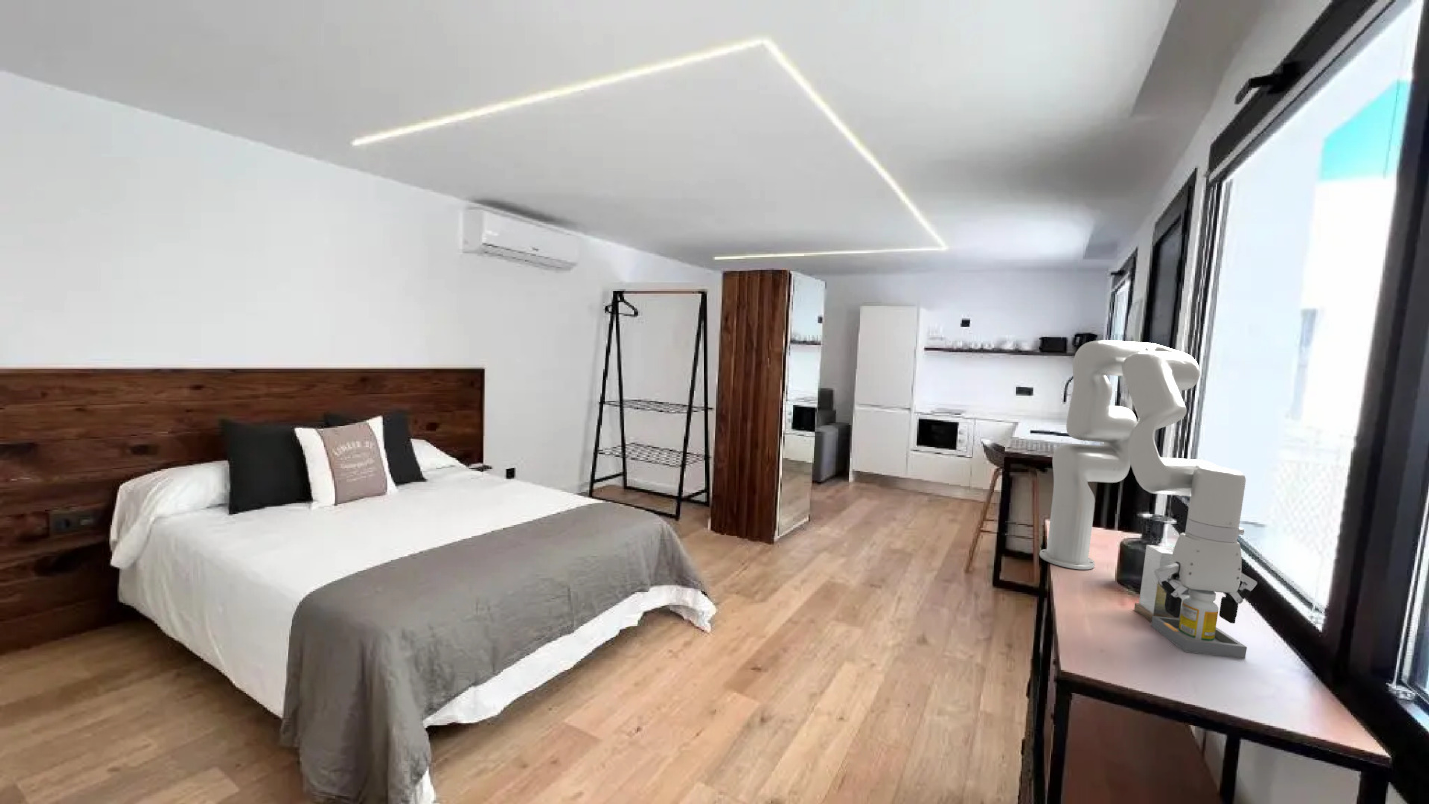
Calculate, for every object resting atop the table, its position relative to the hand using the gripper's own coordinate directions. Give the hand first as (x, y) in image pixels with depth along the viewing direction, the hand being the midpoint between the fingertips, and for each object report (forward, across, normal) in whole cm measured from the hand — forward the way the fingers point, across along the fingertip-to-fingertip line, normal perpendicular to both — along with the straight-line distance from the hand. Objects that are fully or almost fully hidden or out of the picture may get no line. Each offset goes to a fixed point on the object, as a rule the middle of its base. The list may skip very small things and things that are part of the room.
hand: (1199, 617), depth 112 cm
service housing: (+5, -2, -10) cm, 11 cm away
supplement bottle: (+4, 0, 0) cm, 5 cm away
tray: (+5, 0, 0) cm, 5 cm away
